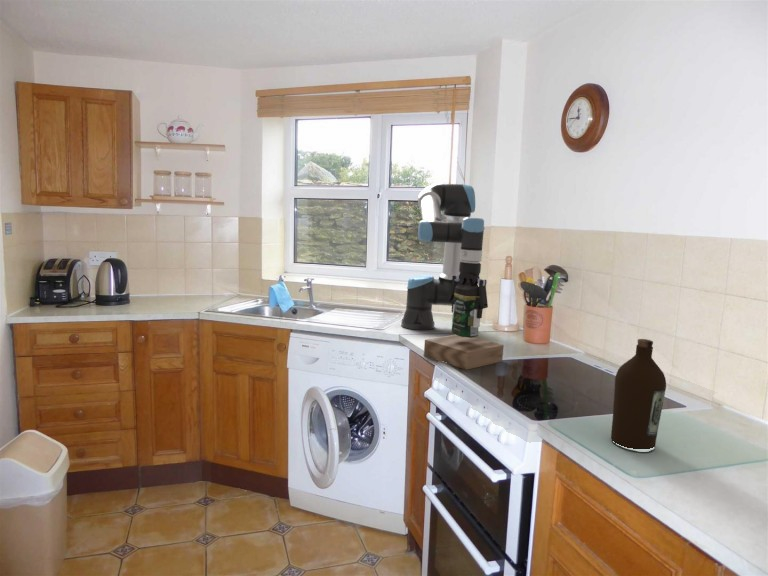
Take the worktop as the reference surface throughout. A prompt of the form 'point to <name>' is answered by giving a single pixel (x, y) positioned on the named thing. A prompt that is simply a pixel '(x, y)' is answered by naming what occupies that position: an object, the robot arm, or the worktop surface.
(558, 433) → the worktop surface
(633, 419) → the olive oil
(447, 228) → the robot arm
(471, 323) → the coffee jar
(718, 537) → the worktop surface
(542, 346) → the worktop surface
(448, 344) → the block
